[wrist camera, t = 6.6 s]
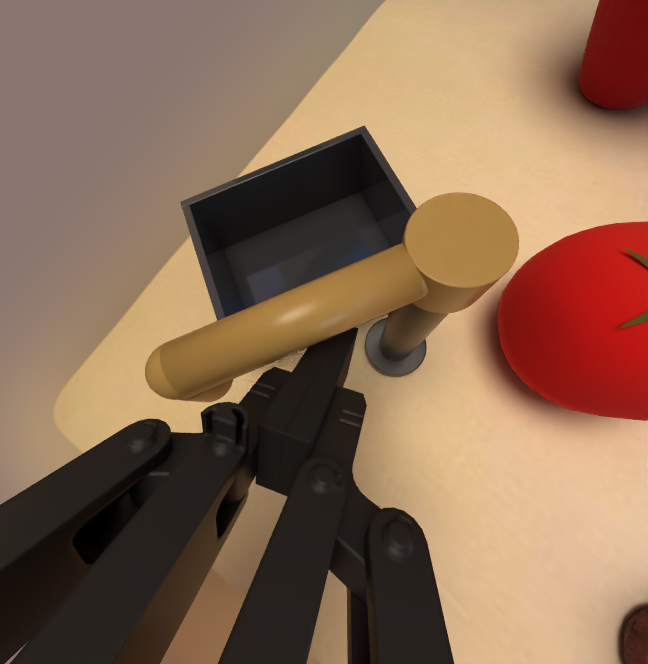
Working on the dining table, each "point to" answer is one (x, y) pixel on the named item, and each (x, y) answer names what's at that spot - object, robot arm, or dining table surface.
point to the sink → (296, 221)
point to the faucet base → (400, 340)
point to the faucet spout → (348, 297)
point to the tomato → (583, 321)
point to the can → (636, 639)
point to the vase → (617, 55)
